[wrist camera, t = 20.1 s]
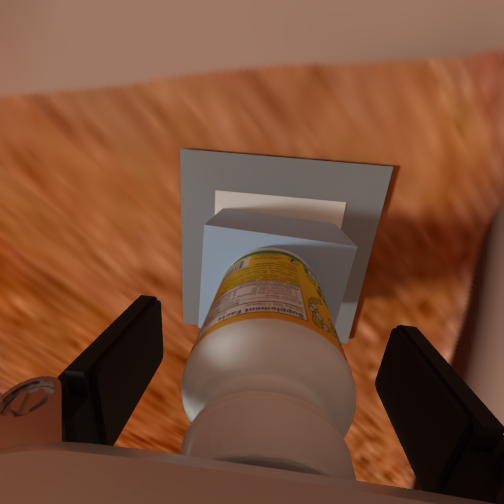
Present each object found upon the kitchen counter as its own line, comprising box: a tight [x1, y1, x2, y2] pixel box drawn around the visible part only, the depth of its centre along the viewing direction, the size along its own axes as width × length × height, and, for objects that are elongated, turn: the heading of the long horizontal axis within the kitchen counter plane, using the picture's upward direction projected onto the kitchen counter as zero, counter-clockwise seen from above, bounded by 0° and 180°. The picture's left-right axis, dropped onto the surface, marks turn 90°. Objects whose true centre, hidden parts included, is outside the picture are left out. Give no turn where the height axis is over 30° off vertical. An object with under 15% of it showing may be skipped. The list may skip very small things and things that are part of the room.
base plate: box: [180, 149, 393, 343], centre depth 19 cm, size 14×14×1 cm
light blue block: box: [198, 208, 358, 328], centre depth 16 cm, size 6×8×5 cm
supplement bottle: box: [180, 248, 356, 481], centre depth 9 cm, size 5×5×10 cm
